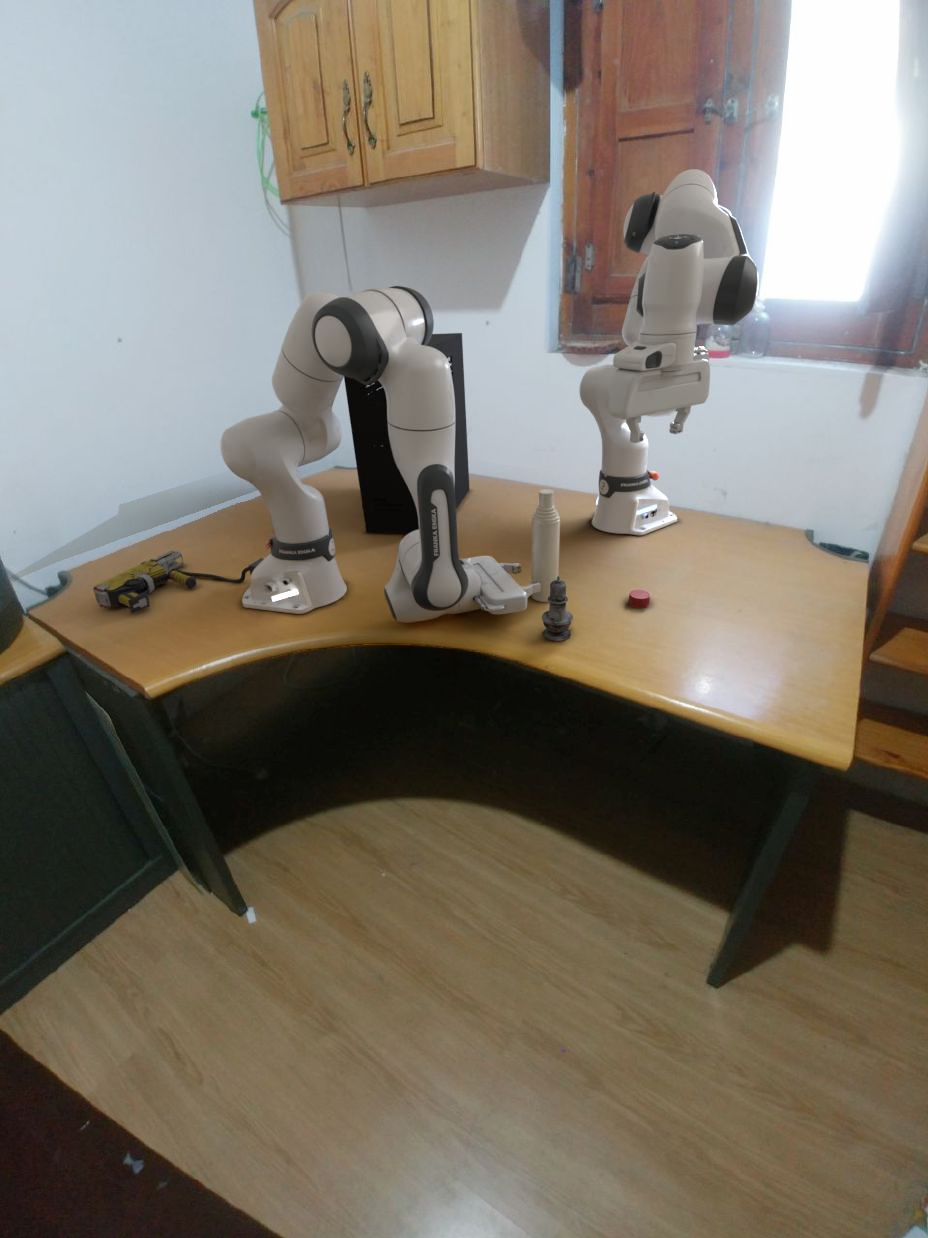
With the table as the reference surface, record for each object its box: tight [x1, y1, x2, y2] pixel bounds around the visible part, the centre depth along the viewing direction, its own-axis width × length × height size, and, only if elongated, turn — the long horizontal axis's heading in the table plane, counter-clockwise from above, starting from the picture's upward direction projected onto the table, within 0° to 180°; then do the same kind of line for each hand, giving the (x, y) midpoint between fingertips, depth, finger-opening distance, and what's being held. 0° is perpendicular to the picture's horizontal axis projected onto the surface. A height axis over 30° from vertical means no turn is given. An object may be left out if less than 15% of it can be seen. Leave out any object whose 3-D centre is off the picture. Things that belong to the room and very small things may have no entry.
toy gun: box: [92, 549, 197, 614], centre depth 138 cm, size 5×24×15 cm
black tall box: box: [343, 332, 470, 535], centre depth 165 cm, size 38×20×45 cm, turn 167°
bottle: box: [530, 488, 561, 603], centre depth 121 cm, size 6×6×23 cm
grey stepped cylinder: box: [540, 576, 574, 642], centre depth 110 cm, size 6×6×12 cm
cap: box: [627, 589, 651, 609], centre depth 122 cm, size 4×4×2 cm
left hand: (529, 576), depth 124 cm, fingers open, 8 cm apart
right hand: (656, 437), depth 106 cm, fingers open, 8 cm apart
